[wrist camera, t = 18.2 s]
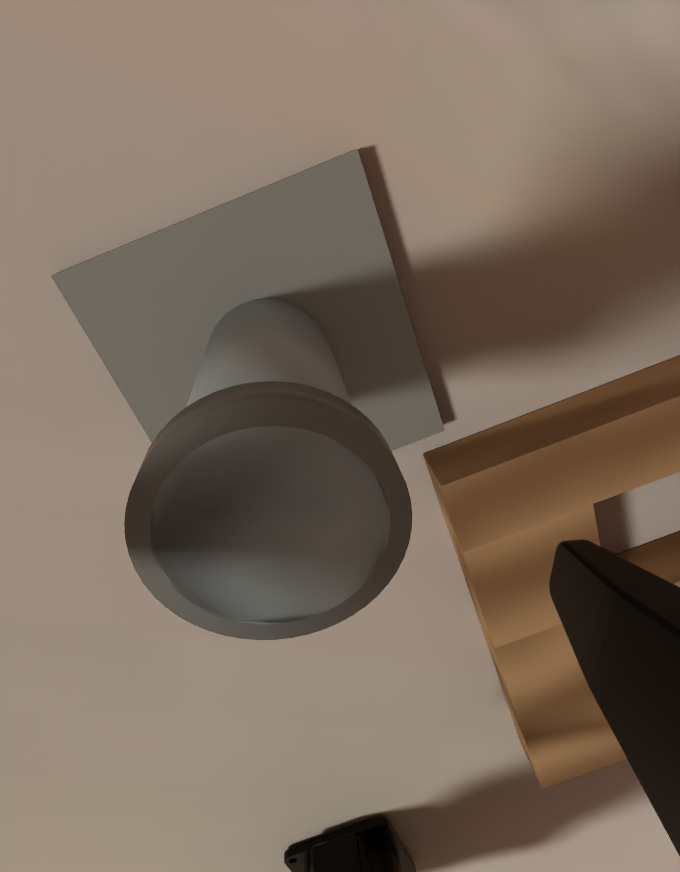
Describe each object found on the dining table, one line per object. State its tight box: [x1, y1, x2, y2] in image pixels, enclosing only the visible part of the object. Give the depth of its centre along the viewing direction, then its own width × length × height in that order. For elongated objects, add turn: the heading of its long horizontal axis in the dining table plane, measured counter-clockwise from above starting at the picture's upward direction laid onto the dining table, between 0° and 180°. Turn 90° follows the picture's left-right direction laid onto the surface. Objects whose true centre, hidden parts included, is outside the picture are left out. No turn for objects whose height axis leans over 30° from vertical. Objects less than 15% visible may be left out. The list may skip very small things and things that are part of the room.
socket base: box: [423, 356, 680, 789], centre depth 25 cm, size 20×16×2 cm
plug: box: [124, 298, 412, 640], centre depth 14 cm, size 5×5×10 cm
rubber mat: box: [51, 149, 444, 451], centre depth 19 cm, size 10×10×1 cm
